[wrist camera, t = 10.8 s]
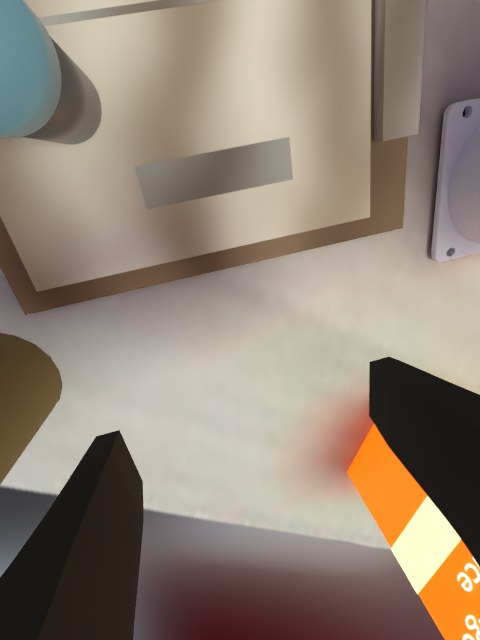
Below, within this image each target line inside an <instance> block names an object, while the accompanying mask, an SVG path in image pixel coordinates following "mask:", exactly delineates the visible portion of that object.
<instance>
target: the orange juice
mask: <svg viewBox="0 0 480 640" xmlns="http://www.w3.org/2000/svg"><path fill="white" fill-rule="evenodd" d="M347 473H348V475H349V477H350V478H351V480H352V482H353V484H354V485H355V487H356V489H357V490H358V492H359V494H360V495H361V497H362V499H363V501H364V502H365V504H366V506H367V507H368V509H369V511H370V513H371V514H372V516H373V518H374V519H375V521H376V523H377V524H378V526H379V528H380V530H381V531H382V533H383V535H384V536H385V538H386V540H387V542H388V543H389V545H390V547H391V550H392V552H393V554H394V555H395V557H396V558H397V560H398V562H399V564H400V565H401V567H402V569H403V571H404V572H405V574H406V576H407V578H408V579H409V581H410V583H411V584H412V586H413V588H414V589H415V591H416V593H417V594H419V596H420V598H421V599H422V601H423V603H424V605H425V606H426V608H427V610H428V611H429V613H430V615H431V617H432V618H433V620H434V622H435V623H436V625H437V627H438V629H439V630H440V632H441V634H442V635H443V637H444V639H445V640H480V567H479V565H478V564H477V562H476V561H475V559H474V558H473V556H472V555H471V553H470V552H469V550H468V549H467V547H466V546H465V544H464V543H463V541H462V540H461V538H460V537H459V535H458V534H457V533H456V531H455V530H454V529H453V527H452V526H451V525H450V523H449V522H448V521H447V519H446V518H445V517H444V516H443V514H442V513H441V512H440V511H439V509H438V508H437V507H436V506H435V504H434V503H433V502H432V501H431V499H430V498H429V497H428V496H427V494H426V493H425V492H424V491H423V489H422V488H421V487H420V486H419V484H418V483H417V482H416V481H415V479H414V478H413V477H412V476H411V474H410V473H409V472H408V471H407V469H406V468H405V467H404V466H403V464H402V463H401V462H400V461H399V459H398V458H397V457H396V456H395V454H394V453H393V452H392V450H391V449H390V448H389V447H388V445H387V443H386V442H385V440H384V439H383V437H382V436H381V434H380V432H379V431H378V429H377V427H376V426H375V424H373V426H372V428H371V429H370V431H369V433H368V435H367V437H366V438H365V440H364V442H363V444H362V446H361V448H360V449H359V451H358V453H357V455H356V457H355V458H354V460H353V462H352V464H351V466H350V467H349V469H348V471H347Z"/></svg>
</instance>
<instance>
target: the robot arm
mask: <svg viewBox="0 0 480 640" xmlns="http://www.w3.org/2000/svg"><path fill="white" fill-rule="evenodd" d="M464 108H465V109H466V113H465V116H464V117H463V114H462V113H463V110H464ZM449 249H450V251H449V253H448V254H447V251H448V250H449ZM476 253H480V98H477V99H471V100H466V101H461V102H456V103H452V104H450V105H449V106H448V107H447V108H446V110H445V112H444V116H443V127H442V138H441V149H440V160H439V171H438V182H437V193H436V204H435V215H434V226H433V237H432V248H431V258H432V259H433V260H434V261H437V262H444V261H448V260H452V259H456V258H460V257H464V256H468V255H472V254H476ZM369 416H370V417H371V419H372V421H373V422H374V424H375V426H376V427H377V429H378V431H379V432H380V434H381V436H382V437H383V439H384V440H385V442H386V443H387V445H388V447H389V448H390V449H391V450H392V452H393V453H394V454H395V456H396V457H397V458H398V459H399V461H400V462H401V463H402V464H403V466H404V467H405V468H406V469H407V471H408V472H409V473H410V474H411V476H412V477H413V478H414V479H415V481H416V482H417V483H418V484H419V486H420V487H421V488H422V489H423V491H424V492H425V493H426V494H427V496H428V497H429V498H430V499H431V501H432V502H433V503H434V504H435V506H436V507H437V508H438V509H439V511H440V512H441V513H442V514H443V516H444V517H445V518H446V519H447V521H448V522H449V523H450V525H451V526H452V527H453V529H454V530H455V531H456V533H457V534H458V535H459V537H460V538H461V540H462V541H463V543H464V544H465V546H466V547H467V549H468V550H469V552H470V553H471V555H472V556H473V558H474V559H475V561H476V562H477V564H478V565H479V567H480V395H478V394H476V393H474V392H471V391H469V390H466V389H464V388H462V387H459V386H457V385H454V384H452V383H450V382H447V381H445V380H443V379H441V378H438V377H436V376H434V375H431V374H429V373H427V372H425V371H422V370H420V369H418V368H415V367H413V366H411V365H408V364H406V363H404V362H401V361H399V360H396V359H394V358H391V357H387V358H383V359H379V360H376V361H372V362H370V390H369ZM142 530H143V483H142V479H141V477H140V475H139V473H138V470H137V468H136V466H135V464H134V462H133V459H132V457H131V455H130V453H129V451H128V448H127V446H126V444H125V442H124V439H123V437H122V435H121V433H120V431H115V432H111V433H108V434H104V435H100V436H97V437H96V438H95V439H94V441H93V442H92V444H91V446H90V447H89V449H88V450H87V452H86V453H85V455H84V456H83V458H82V459H81V461H80V463H79V464H78V466H77V467H76V469H75V471H74V472H73V474H72V475H71V477H70V478H69V480H68V482H67V483H66V485H65V486H64V488H63V489H62V491H61V492H60V494H59V495H58V497H57V498H56V500H55V501H54V503H53V505H52V506H51V507H50V509H49V511H48V512H47V514H46V515H45V517H44V518H43V519H42V521H41V522H40V524H39V525H38V527H37V528H36V529H35V531H34V532H33V534H32V535H31V537H30V538H29V539H28V541H27V542H26V543H25V545H24V546H23V548H22V549H21V551H20V552H19V553H18V555H17V556H16V557H15V559H14V560H13V562H12V563H11V564H10V566H9V567H8V568H7V570H6V571H5V572H4V574H3V575H2V576H1V577H0V640H133V631H134V618H135V606H136V596H137V586H138V575H139V564H140V554H141V543H142Z"/></svg>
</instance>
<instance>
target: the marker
mask: <svg viewBox="0 0 480 640" xmlns="http://www.w3.org/2000/svg"><path fill="white" fill-rule="evenodd" d="M101 116H102V108H101V102H100V98H99V95H98V92H97V90H96V88H95V86H94V85H93V83H92V82H91V80H90V79H89V78H88V77H87V76H86V75H85V73H84V72H83V71H82V70H81V69H80V68H79V67H78V66H77V65H76V64H75V63H74V62H73V60H72V59H71V58H70V57H69V56H68V55H67V54H66V53H65V52H64V51H63V50H62V49H61V47H60V46H59V45H58V44H57V43H56V42H55V41H54V40H53V39H52V38H51V37H50V36H49V34H48V32H47V30H46V28H45V27H44V25H43V24H42V22H41V21H40V19H39V18H38V17H37V15H36V14H35V13H34V12H33V10H32V9H31V8H30V7H29V6H28V5H27V3H26V2H25V1H24V0H0V138H9V139H11V138H19V137H25V138H31V139H38V140H44V141H50V142H56V143H63V144H79V143H82V142H85V141H87V140H88V139H90V138H91V137H92V136H93V135H94V134H95V133H96V131H97V129H98V127H99V125H100V122H101Z"/></svg>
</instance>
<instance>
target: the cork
mask: <svg viewBox="0 0 480 640" xmlns="http://www.w3.org/2000/svg"><path fill="white" fill-rule="evenodd" d="M61 389H62V382H61V377H60V373H59V370H58V368H57V367H56V365H55V364H54V362H53V361H52V359H51V358H50V357H49V356H48V355H47V354H46V353H44V352H43V351H42V350H41V349H39V348H38V347H37V346H36V345H34V344H32V343H30V342H27V341H25V340H23V339H21V338H18V337H16V336H11V335H6V334H0V484H1V483H2V481H3V480H4V478H5V477H6V475H7V474H8V473H9V471H10V470H11V468H12V467H13V465H14V464H15V462H16V461H17V460H18V458H19V457H20V455H21V454H22V452H23V451H24V450H25V448H26V447H27V445H28V444H29V442H30V441H31V439H32V438H33V437H34V435H35V434H36V432H37V431H38V429H39V428H40V427H41V425H42V424H43V422H44V421H45V419H46V418H47V416H48V415H49V414H50V412H51V411H52V409H53V408H54V406H55V405H56V403H57V402H58V400H59V399H60V394H61Z"/></svg>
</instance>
